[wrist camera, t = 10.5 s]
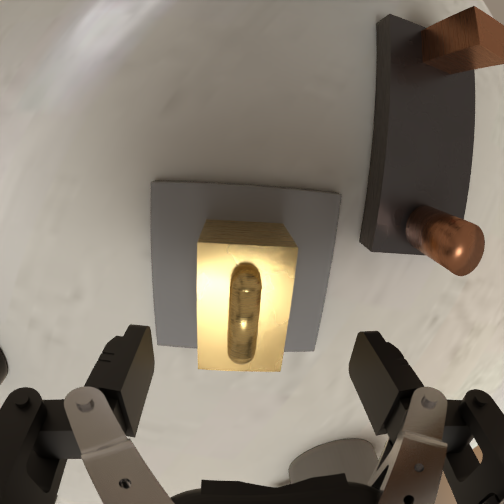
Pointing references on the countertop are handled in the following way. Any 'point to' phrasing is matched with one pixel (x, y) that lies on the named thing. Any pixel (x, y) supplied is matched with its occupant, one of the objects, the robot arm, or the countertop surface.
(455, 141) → the hand plane
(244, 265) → the lever cap
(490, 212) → the countertop surface
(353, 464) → the coffee mug
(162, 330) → the rubber mat
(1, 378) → the supplement bottle
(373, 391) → the robot arm
